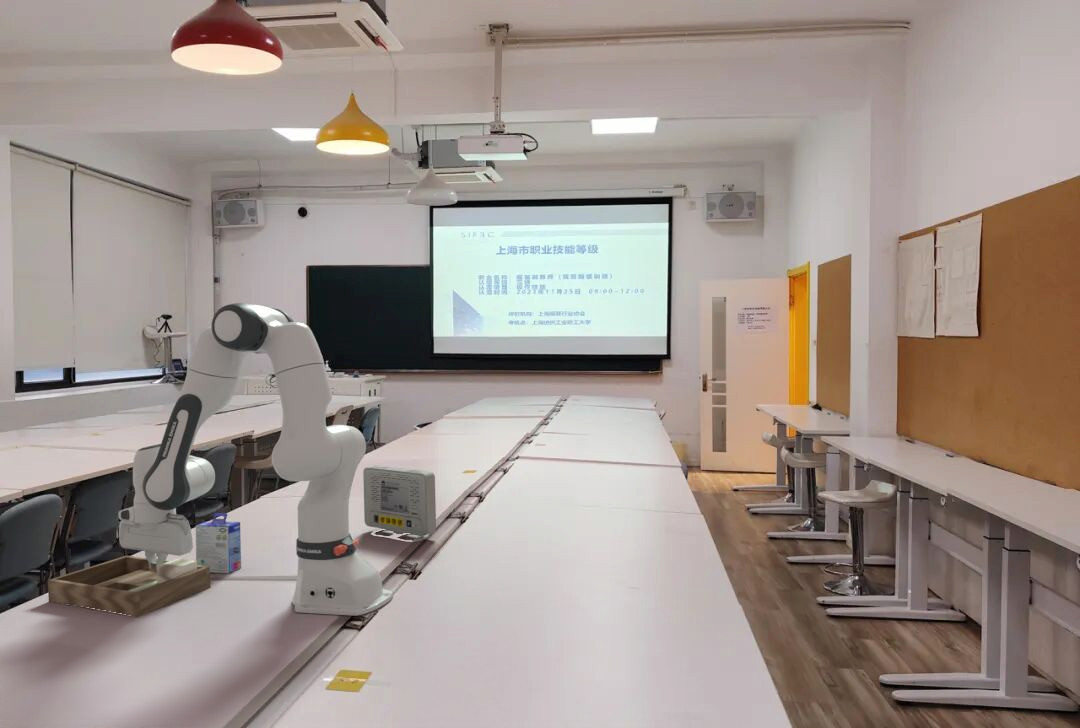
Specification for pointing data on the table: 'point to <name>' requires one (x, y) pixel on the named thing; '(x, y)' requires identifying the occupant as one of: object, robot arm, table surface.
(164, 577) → the block
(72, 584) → the box
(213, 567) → the ink cartridge box
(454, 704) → the table surface
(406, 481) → the network device
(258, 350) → the robot arm
